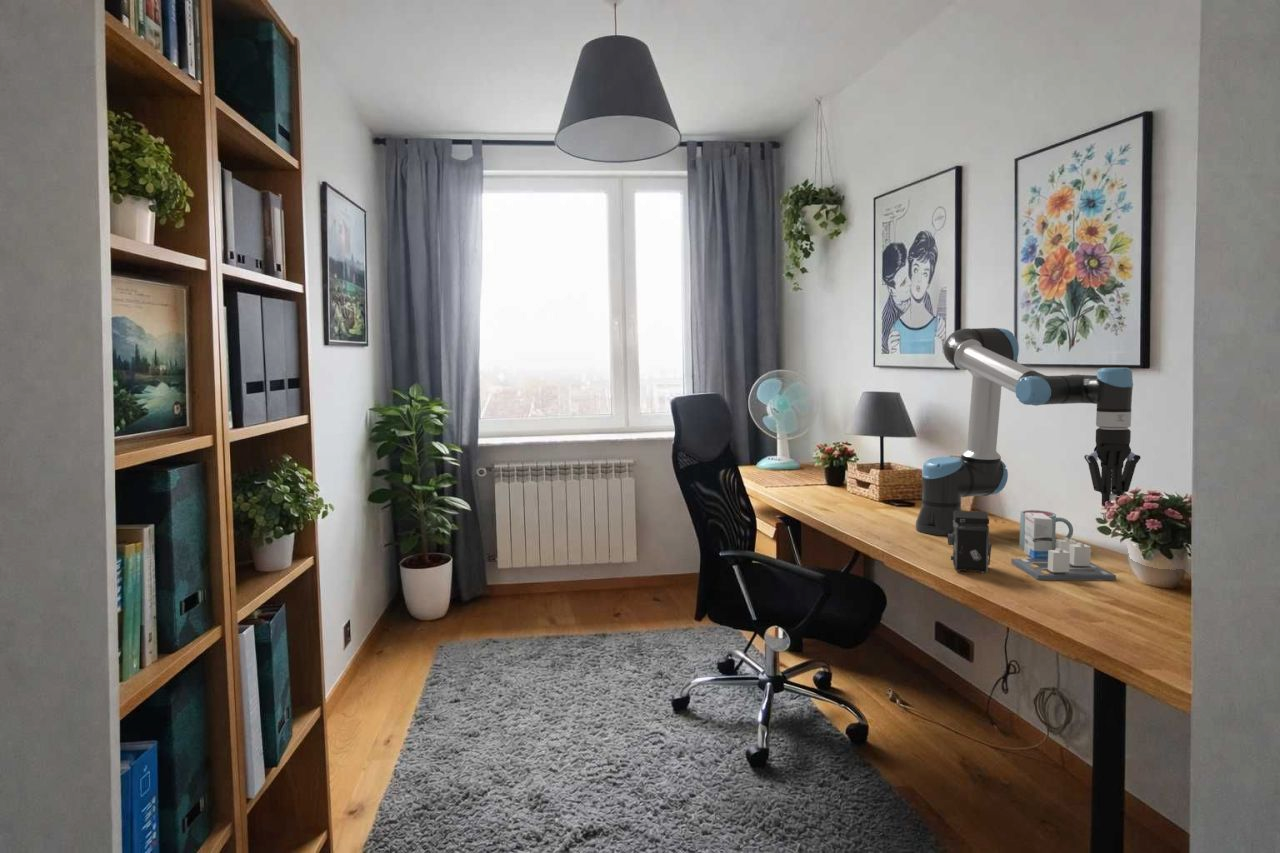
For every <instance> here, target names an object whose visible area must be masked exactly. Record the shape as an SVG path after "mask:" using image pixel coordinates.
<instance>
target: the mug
mask: <svg viewBox="0 0 1280 853" xmlns="http://www.w3.org/2000/svg"><path fill="white" fill-rule="evenodd" d="M1025 513H1043V514H1045V515H1046V516H1048V517H1049V518H1051V519H1052V550H1055V548H1056V539H1059V538H1058V537H1056V526H1057V525H1056V524H1057V523H1058V522H1060V523H1063V524H1065V525H1066V527H1067V528H1068V533H1067V535H1066V536H1065V537H1066V538H1068V539H1072V536H1073V534H1074V526H1073V525H1072V523H1071V521H1069V520H1068V519H1066V518H1064V517H1057V514H1056V513H1054V512H1051V511H1047V510H1046V511H1045V510H1038V509H1027V510H1021V511H1020V512H1019V514H1020V520H1019V521H1020V522H1019V545H1020V546H1019V547H1020V548H1023V549H1024V548H1025ZM1061 539H1063V537H1062V538H1061Z"/></svg>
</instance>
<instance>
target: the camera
mask: <svg viewBox="0 0 1280 853" xmlns="http://www.w3.org/2000/svg"><path fill="white" fill-rule="evenodd" d="M953 516H954V520H953V527H954V532H953V533H952V534H948V535H947V545H948V546H952V547H953V548H952V555H950V561H952V564H953V568H954V570H956V571H957V572H958V571H959V572H960V571H969V572H971V571H972V572H981V574H984V573H987V572H988V570H989V569H988V568H989V566H990V565H991V564H990V563H991V555H992V553H991V552H992V544H991V543H990V527H989V524H990V519H989V517H988V515H987V512H986V511H978V510H977V511H976V510H975V511H974V510H962V511H957V510H956V511H954V512H953Z"/></svg>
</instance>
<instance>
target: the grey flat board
mask: <svg viewBox="0 0 1280 853" xmlns="http://www.w3.org/2000/svg"><path fill="white" fill-rule="evenodd" d="M1010 563H1011V564H1012V565H1014V566H1015V567H1016V568H1018V569H1020V570H1021V571H1023V572H1025V573H1026V574H1027V575H1029V576H1031V577H1033V579H1035V580H1036V581H1116V580H1117V577H1116V576H1117V575H1116V574H1114V573H1113V572H1111V571H1108V570H1107V569H1104V568H1102V567H1101V566H1099V565H1097V564H1094V563H1093V562H1091V561H1090V566H1073V565H1071V564H1070V563H1069V572H1052V571H1050V570H1048V559H1032V558H1011V559H1010Z"/></svg>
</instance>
